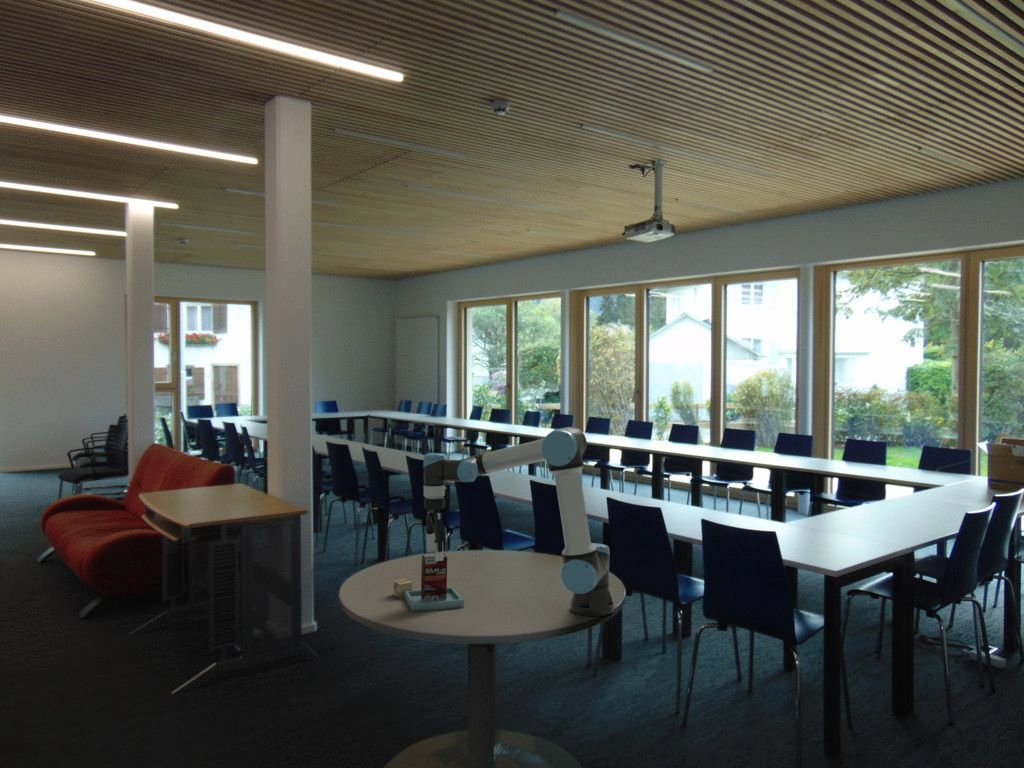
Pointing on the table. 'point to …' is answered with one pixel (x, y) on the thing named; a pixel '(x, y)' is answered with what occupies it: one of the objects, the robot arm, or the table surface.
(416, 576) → the table surface
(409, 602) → the tray
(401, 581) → the oak cube
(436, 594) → the supplement box
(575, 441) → the robot arm
